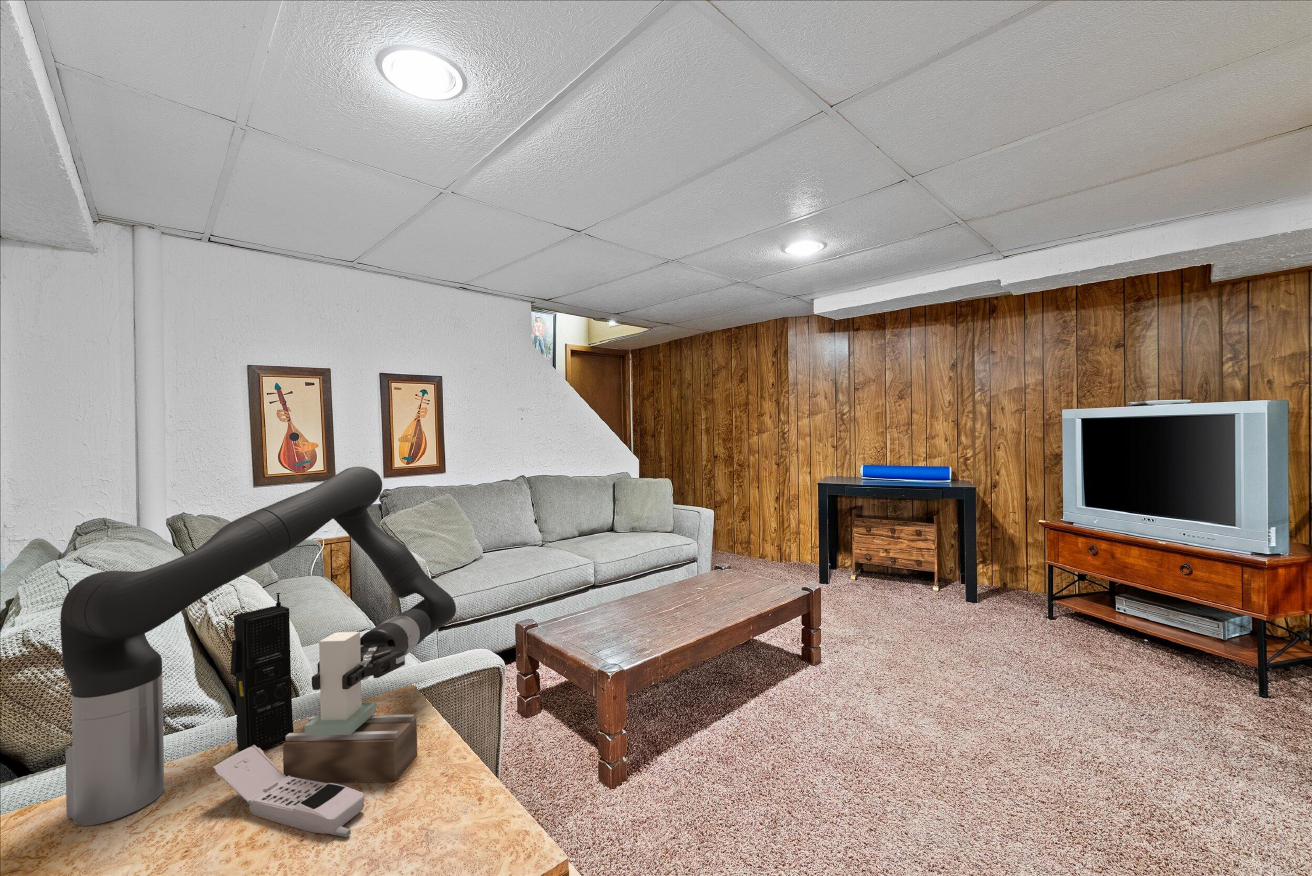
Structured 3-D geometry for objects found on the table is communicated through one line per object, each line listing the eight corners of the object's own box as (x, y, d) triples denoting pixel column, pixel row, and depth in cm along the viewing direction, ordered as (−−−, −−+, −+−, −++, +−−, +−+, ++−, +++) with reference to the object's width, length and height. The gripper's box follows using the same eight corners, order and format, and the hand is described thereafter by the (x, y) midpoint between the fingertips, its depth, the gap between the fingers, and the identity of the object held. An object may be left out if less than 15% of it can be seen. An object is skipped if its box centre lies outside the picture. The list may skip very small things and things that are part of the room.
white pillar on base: (304, 735, 80) (302, 645, 80) (334, 712, 87) (332, 629, 87) (350, 734, 79) (348, 644, 80) (376, 711, 86) (374, 628, 87)
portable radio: (241, 761, 86) (238, 606, 87) (227, 751, 89) (224, 602, 90) (295, 738, 93) (292, 594, 93) (280, 729, 96) (277, 590, 96)
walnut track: (283, 783, 80) (282, 737, 80) (315, 756, 87) (314, 714, 87) (394, 781, 79) (393, 735, 79) (417, 754, 86) (416, 712, 86)
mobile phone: (252, 743, 81) (378, 769, 72) (254, 782, 81) (380, 813, 72) (208, 766, 75) (338, 798, 67) (210, 808, 75) (340, 845, 67)
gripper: (351, 622, 98) (283, 659, 81) (427, 620, 97) (374, 657, 80) (352, 663, 98) (284, 709, 81) (428, 661, 97) (376, 707, 80)
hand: (329, 683), depth 81 cm, fingers closed on white pillar on base, 4 cm apart
